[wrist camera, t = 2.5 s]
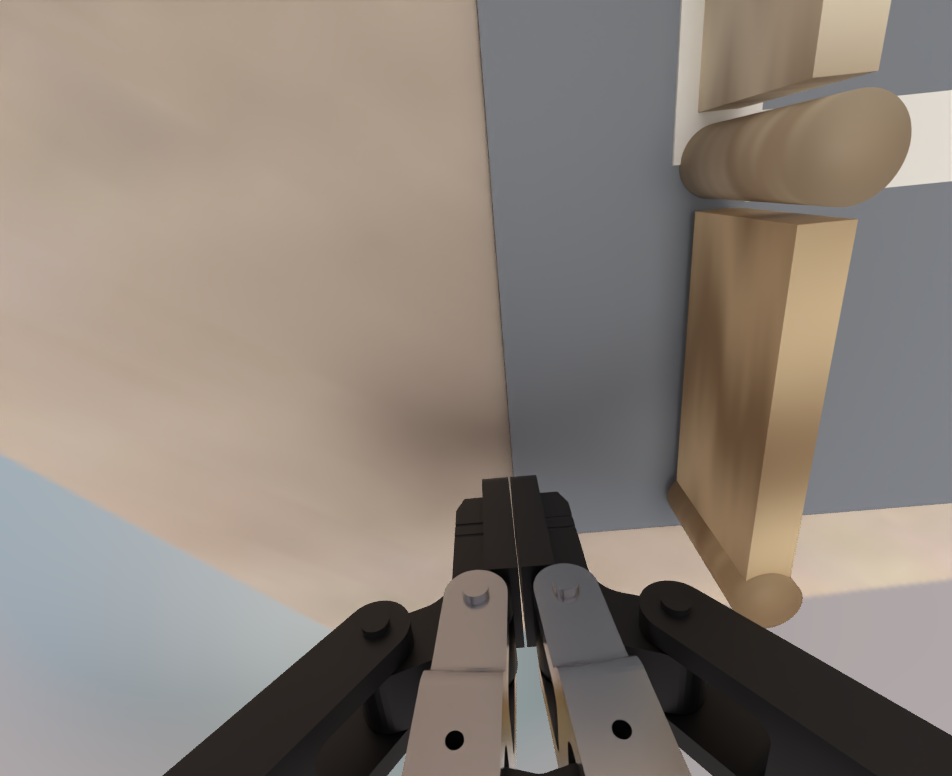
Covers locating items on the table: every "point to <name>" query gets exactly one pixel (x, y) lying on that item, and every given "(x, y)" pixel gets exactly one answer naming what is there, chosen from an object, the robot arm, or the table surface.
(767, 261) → the fence gate
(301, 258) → the table surface
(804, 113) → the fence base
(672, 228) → the card
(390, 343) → the table surface
